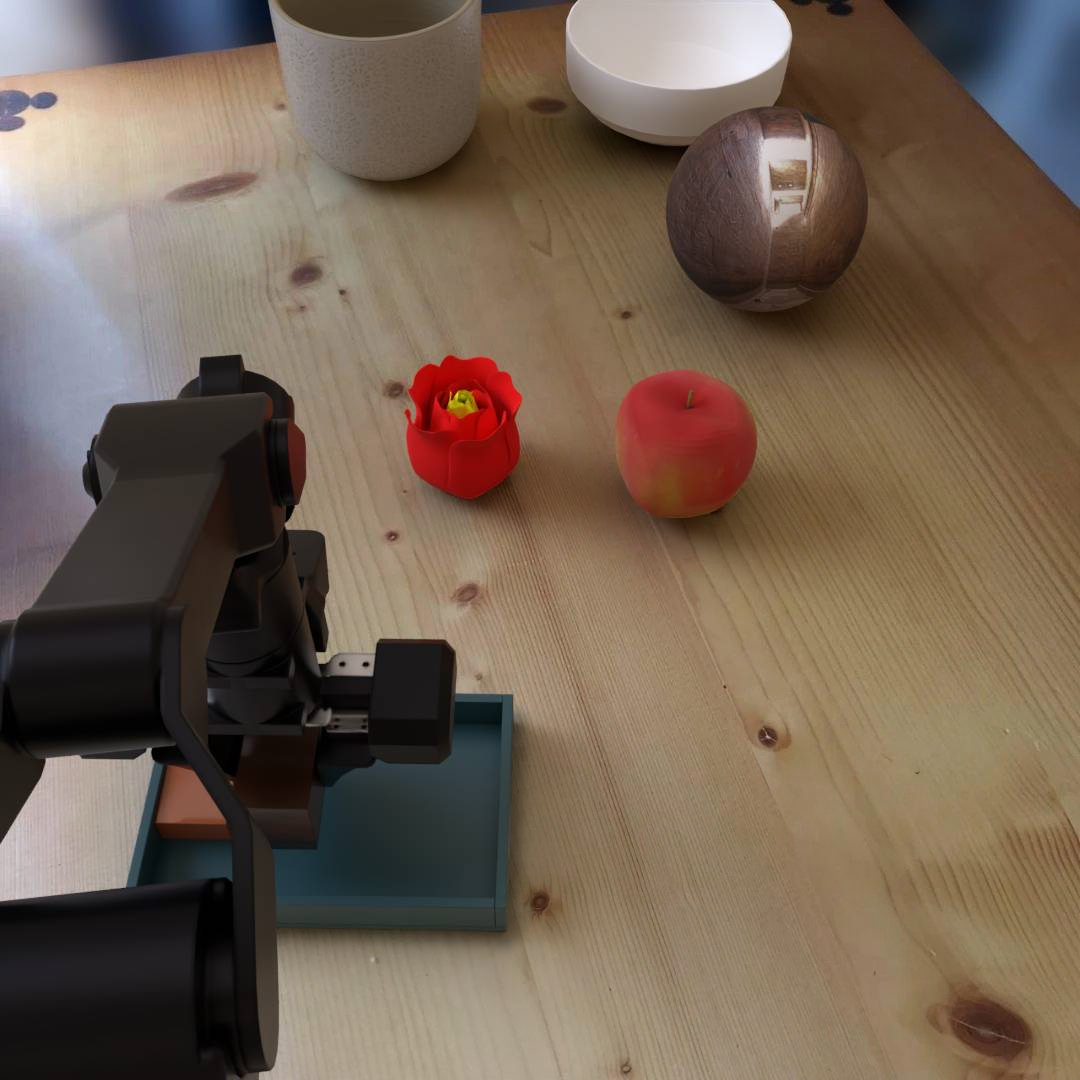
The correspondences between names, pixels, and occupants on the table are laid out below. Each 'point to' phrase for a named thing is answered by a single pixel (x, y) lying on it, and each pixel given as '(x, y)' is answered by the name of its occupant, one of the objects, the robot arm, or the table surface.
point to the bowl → (675, 63)
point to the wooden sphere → (766, 209)
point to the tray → (384, 839)
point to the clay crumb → (188, 809)
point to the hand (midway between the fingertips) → (290, 778)
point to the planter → (381, 80)
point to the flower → (463, 425)
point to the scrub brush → (283, 787)
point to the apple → (684, 443)
